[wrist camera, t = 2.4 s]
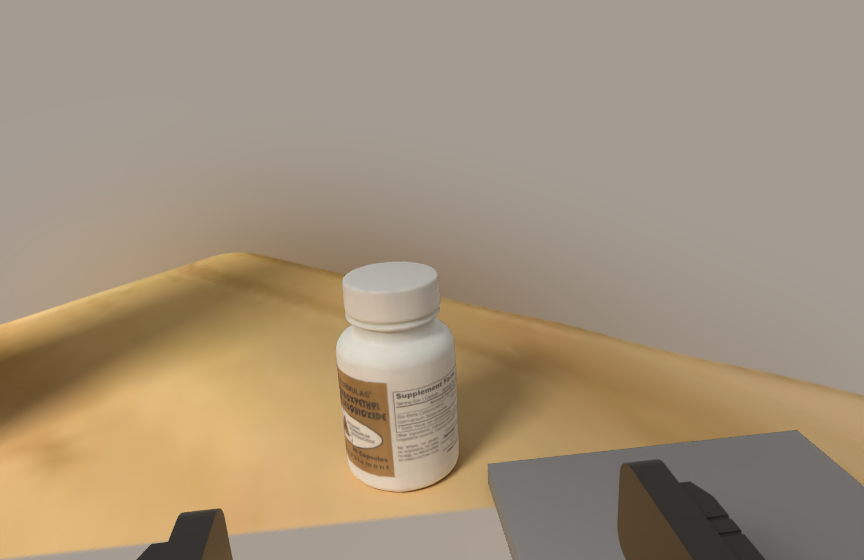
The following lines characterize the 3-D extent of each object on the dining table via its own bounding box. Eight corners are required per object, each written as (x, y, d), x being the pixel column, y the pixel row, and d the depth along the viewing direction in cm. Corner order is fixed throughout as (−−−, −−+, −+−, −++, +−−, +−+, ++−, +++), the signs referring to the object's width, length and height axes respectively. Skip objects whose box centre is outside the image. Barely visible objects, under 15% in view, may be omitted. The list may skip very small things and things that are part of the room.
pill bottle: (331, 450, 26) (311, 270, 24) (426, 419, 28) (416, 250, 26) (374, 511, 23) (355, 306, 20) (480, 471, 25) (475, 279, 22)
